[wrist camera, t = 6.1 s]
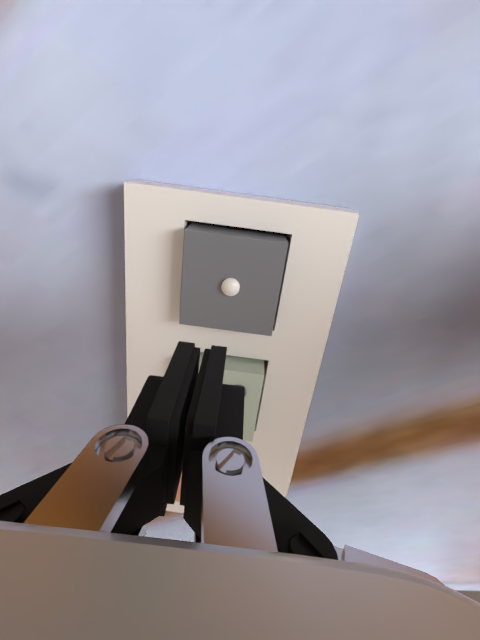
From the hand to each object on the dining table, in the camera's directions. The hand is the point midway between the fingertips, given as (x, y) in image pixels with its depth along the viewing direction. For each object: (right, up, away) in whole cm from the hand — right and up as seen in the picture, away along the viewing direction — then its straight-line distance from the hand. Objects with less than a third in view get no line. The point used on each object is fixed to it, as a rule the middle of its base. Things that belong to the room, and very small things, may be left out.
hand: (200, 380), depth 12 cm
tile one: (+1, +5, +11) cm, 13 cm away
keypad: (0, -2, +17) cm, 17 cm away
